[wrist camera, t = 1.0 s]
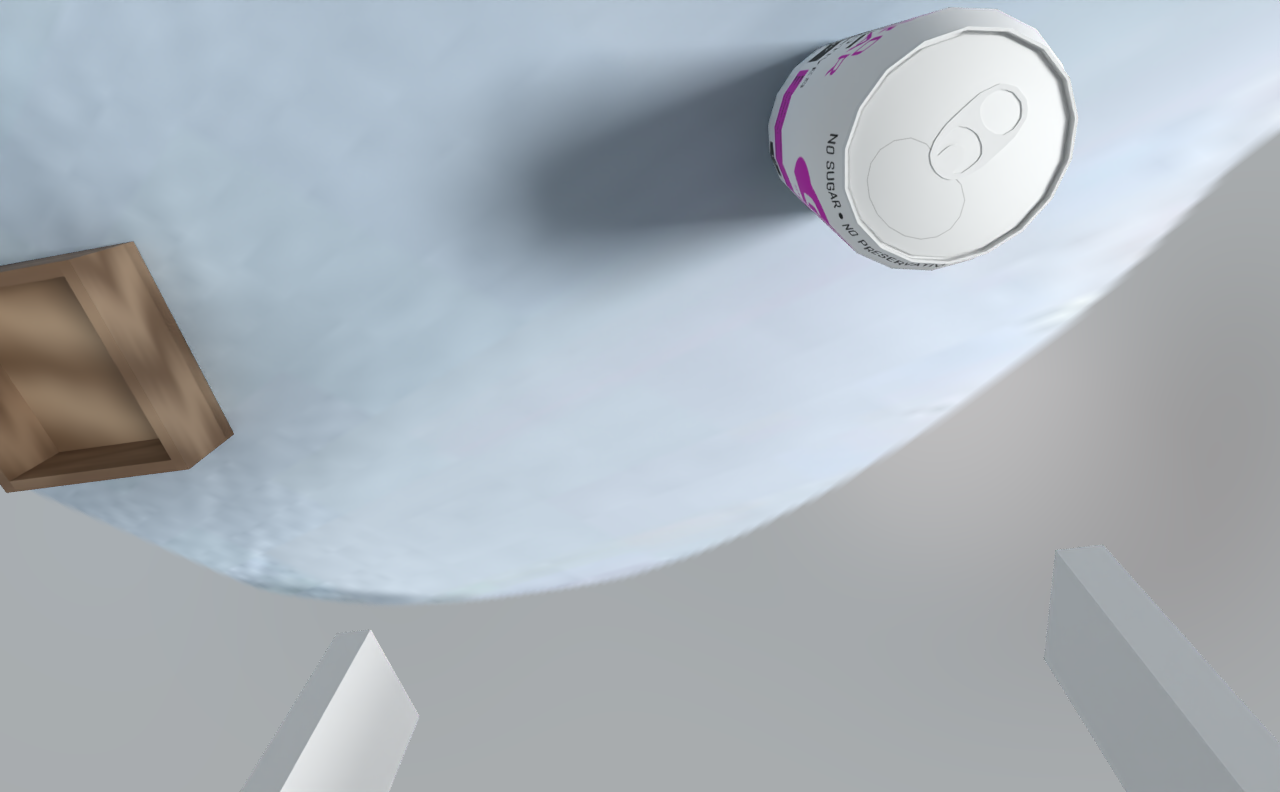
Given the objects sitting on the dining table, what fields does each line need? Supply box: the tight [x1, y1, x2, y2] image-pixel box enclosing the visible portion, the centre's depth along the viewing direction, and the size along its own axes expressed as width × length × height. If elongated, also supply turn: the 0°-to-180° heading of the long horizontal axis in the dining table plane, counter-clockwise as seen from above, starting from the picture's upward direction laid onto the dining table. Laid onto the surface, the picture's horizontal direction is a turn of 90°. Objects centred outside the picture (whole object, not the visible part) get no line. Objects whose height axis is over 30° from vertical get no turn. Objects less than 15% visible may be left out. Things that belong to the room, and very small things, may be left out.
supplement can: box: [768, 7, 1078, 270], centre depth 26 cm, size 8×8×15 cm
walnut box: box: [0, 242, 234, 493], centre depth 40 cm, size 14×14×4 cm
